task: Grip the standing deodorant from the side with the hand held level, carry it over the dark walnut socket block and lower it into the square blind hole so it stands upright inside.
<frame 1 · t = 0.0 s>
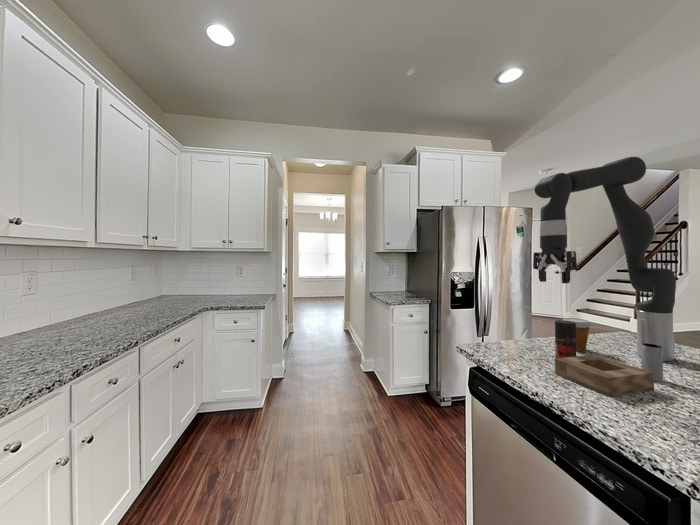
hand: (553, 282, 97), 29 cm above the counter, tool pointing down, fingers open, 8 cm apart
gray cylindrical tube: (652, 379, 88), on the counter
disposable coffee cup: (575, 349, 118), on the counter
deodorant: (565, 365, 101), on the counter
socket block: (601, 381, 87), on the counter
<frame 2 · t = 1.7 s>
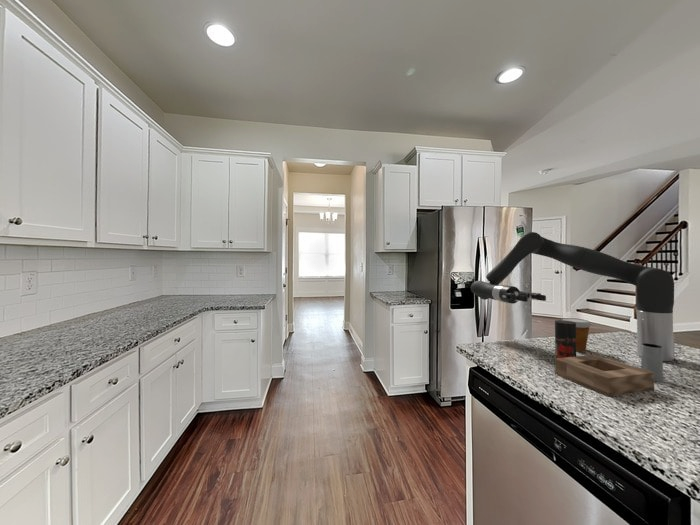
hand: (536, 298, 113), 22 cm above the counter, tool horizontal, fingers open, 8 cm apart
nothing on the counter moved.
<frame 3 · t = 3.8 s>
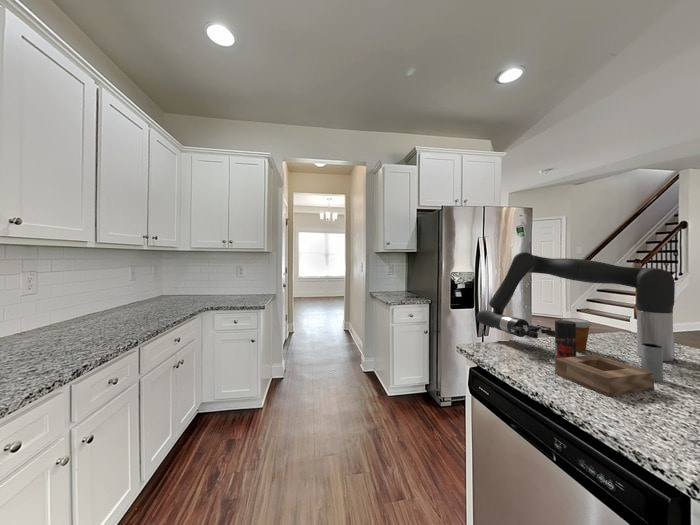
hand: (546, 335, 108), 8 cm above the counter, tool horizontal, fingers open, 8 cm apart
nothing on the counter moved.
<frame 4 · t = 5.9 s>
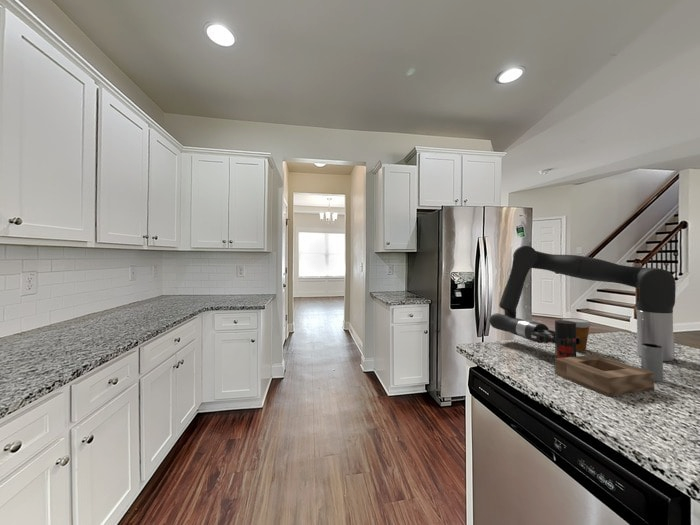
hand: (572, 342, 99), 9 cm above the counter, tool horizontal, fingers closed on deodorant, 6 cm apart
deodorant: (565, 365, 101), on the counter, touching gripper
everything else where it was.
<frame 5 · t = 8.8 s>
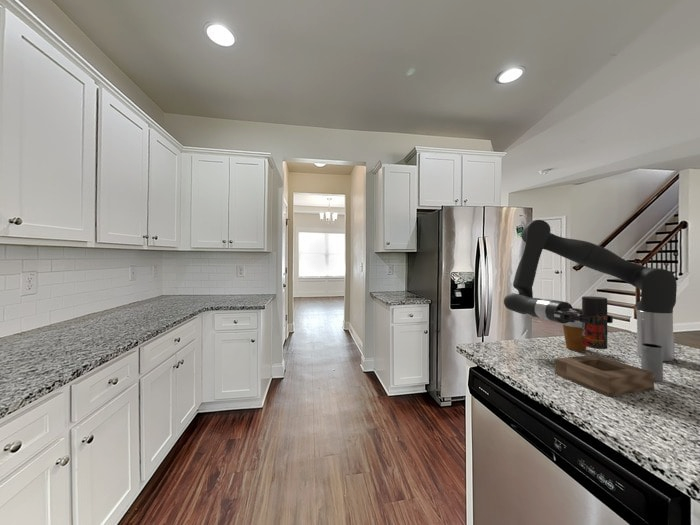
hand: (602, 320, 86), 19 cm above the counter, tool horizontal, fingers closed on deodorant, 6 cm apart
deodorant: (594, 346, 89), point 10 cm above the counter, touching gripper
everything else where it was.
when the fingers open (10 cm above the counter, at t = 11.6 s): deodorant stays where it is, resting on socket block.
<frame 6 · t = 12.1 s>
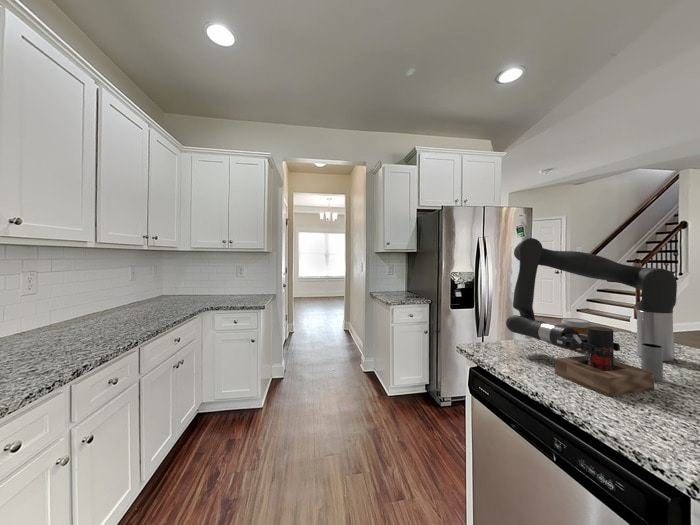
hand: (607, 348, 85), 11 cm above the counter, tool horizontal, fingers open, 8 cm apart
deodorant: (600, 378, 87), point 1 cm above the counter, touching socket block
everything else where it was.
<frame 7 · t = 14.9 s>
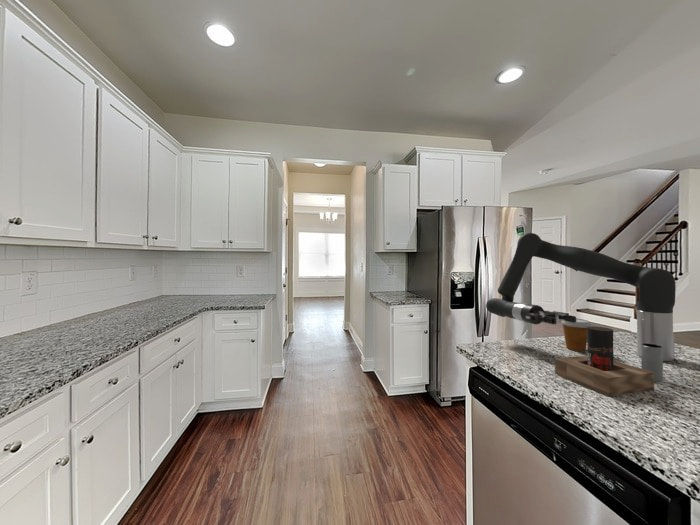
hand: (565, 320, 100), 16 cm above the counter, tool horizontal, fingers open, 8 cm apart
nothing on the counter moved.
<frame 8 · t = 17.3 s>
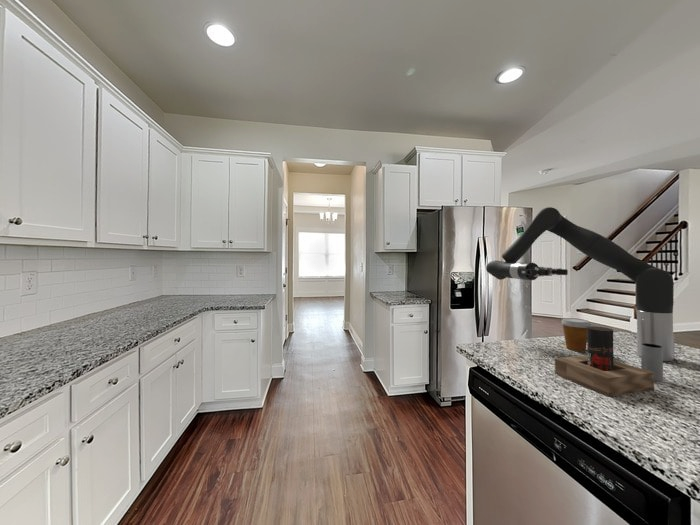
hand: (557, 272, 110), 32 cm above the counter, tool horizontal, fingers open, 8 cm apart
nothing on the counter moved.
at the end: deodorant 0.2 cm off-centre on the socket block, point 0.8 cm above the socket block's base; deodorant tilted 0°; the gripper is holding nothing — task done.
